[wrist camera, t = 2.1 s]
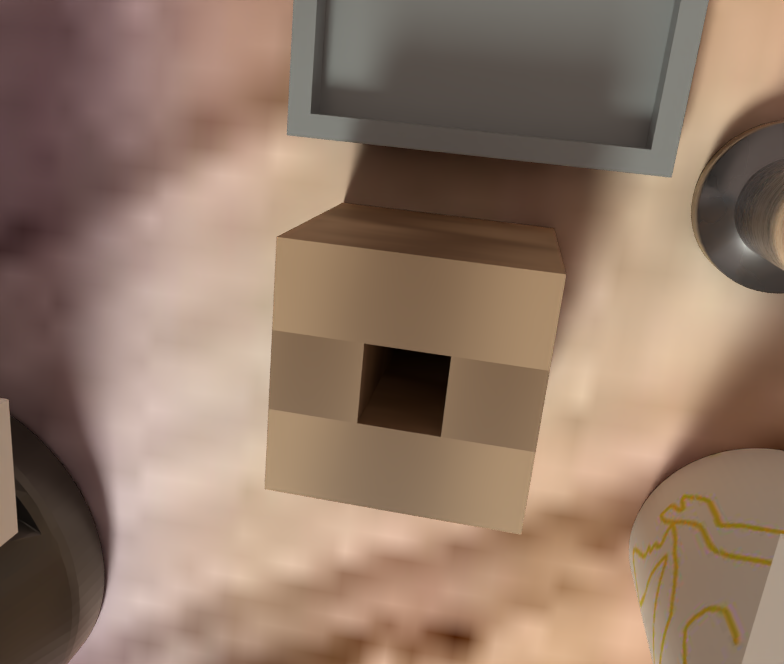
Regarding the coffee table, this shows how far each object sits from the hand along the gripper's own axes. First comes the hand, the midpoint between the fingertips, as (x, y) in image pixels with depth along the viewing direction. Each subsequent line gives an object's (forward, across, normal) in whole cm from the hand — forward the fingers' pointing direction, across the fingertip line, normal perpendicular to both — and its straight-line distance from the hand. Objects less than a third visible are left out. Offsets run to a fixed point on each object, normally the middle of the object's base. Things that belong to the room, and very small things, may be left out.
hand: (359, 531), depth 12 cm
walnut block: (+13, 0, 0) cm, 13 cm away
